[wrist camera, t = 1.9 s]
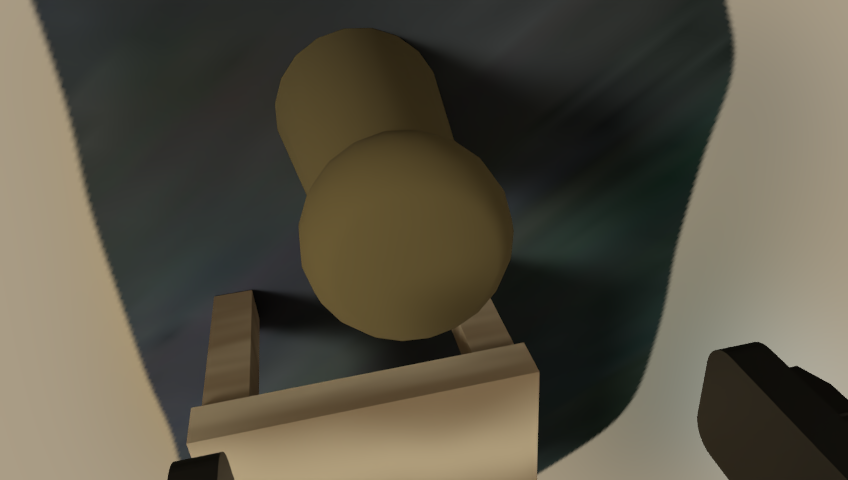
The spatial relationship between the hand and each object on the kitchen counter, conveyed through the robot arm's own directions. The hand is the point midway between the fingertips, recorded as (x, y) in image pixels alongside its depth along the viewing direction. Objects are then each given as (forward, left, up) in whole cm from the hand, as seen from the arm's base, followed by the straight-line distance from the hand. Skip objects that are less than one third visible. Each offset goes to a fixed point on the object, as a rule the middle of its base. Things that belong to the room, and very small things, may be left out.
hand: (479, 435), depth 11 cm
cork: (0, 0, -16) cm, 16 cm away
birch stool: (+12, -1, -16) cm, 20 cm away
